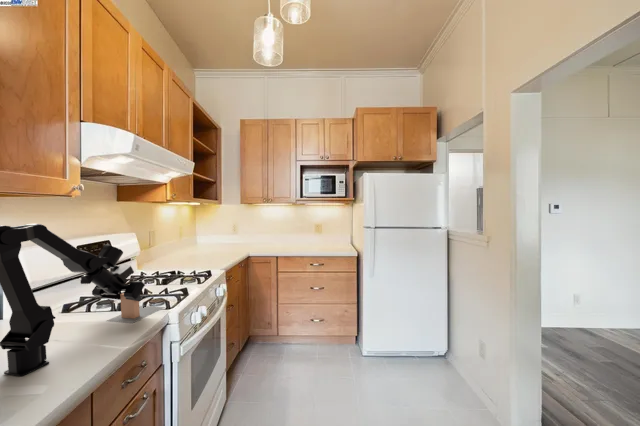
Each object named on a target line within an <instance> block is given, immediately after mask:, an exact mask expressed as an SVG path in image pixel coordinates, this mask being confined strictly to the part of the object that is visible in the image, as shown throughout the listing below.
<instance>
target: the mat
mask: <svg viewBox="0 0 640 426" xmlns="http://www.w3.org/2000/svg"><path fill="white" fill-rule="evenodd" d="M142 306H143V305H139V311H140V316H139V317H137V318H122V317H121V314H119V315H117V316H115V317H112V318H110V319H107V320H106V322H112V323H125V324H135V323H136V322H139V321H140V320H143V319H144V318H146V317H149V316H151V315H153V314H155V313H156V312H159V311H161V310H163V309H165V308H166V307H164V306H152V305H150V306H149V305H145V306H146V307H144V308H143V307H142Z"/></svg>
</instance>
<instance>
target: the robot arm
mask: <svg viewBox="0 0 640 426" xmlns="http://www.w3.org/2000/svg"><path fill="white" fill-rule="evenodd" d="M28 241H30V242H32V243H33V244H35V245H36V246H39V247H40V248H42V249H43V250H45V251H47V252H48V253H50V254H52V255H53V256H55V257H57V258H59V259H60V260H61V261H62V263H63V266H64V267H65V268H67V270H69V271H70V272H72V273H80V274H81V273H84V275H81V276H80V284H81V285H90V284H91V283H92V284H94V285H95V287H94V288H93V289H92V290H91V295H92V296H94V297H95V298H103V299H110V300H111V299H112V300H117V301H121V299H120V294H122V293H124V297H125V298H126V299H128V300H134V301H139V302H141V300H142V298H143V297H142V296H141V293H142V291H143V289H144V287H145V283H144V282H143V281H141V280H132V281H130V283H129V284H127V282H128V278H129V277H130V276H132V275H133V274H135V271H134V269H133V267H132V265H131V264H122V265H117V263H118V262H119V260H120V259H121V258H122V255H123V254H124V251H123V250H122V249H121V248H118V247H116V246H112V245H111V244H105V245H104V246H102V249H101V250H100V252H99V253H98V255H96V254H94V253H91V252H89V251H86V250H82V249H80V248H79V249H78V248H77V247H75V246H74V245H72V244H70V243H69V242H67V241H66V240H64V239H63V238H62V237H60V236H59V235H57V234H55V232H52V231H51V230H50V229H48V228H47V226H46V225H44V224H42V223H27V224H23V225H16V226H11V225H0V287H1V289H2V292H3V294H4V295H5V299H6V300H7V303H8V305H9V307H10V310H11V315H10V317H9V321H8V322H9V328H10V329H9V331H8V332H7V333H5V334H6V335H5V336H3V338H2V339H1V341H0V347H1V349H2V350H6V356H7V357H6V358H7V370H5V371H3V375H8V376H14V377H15V376H16V377H23V376H25V375H27V374H30V373H31V372H34V371H36V370H38V369H40V368H42V367H44V366H47V365H48V364H50V361H49V360H47V346H46V344H48V343H49V342H50V337H51V334H52V330H53V327H55V321H54V320H55V319H56V316H55V315H54V314H53V310H52V307H51V306H50V305H39V303H38V302H37V299H36V296H35V294H34V292H33V289H32V288H31V285H30V283H29V280H28V278H27V274H26V272H25V270H24V268H23V265H22V263H21V260H20V256H19V254H20V251H21V248H22V243H24V242H28Z"/></svg>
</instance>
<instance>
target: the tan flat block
mask: <svg viewBox="0 0 640 426" xmlns="http://www.w3.org/2000/svg"><path fill="white" fill-rule="evenodd" d="M121 293H122V294H120V299H121V300H120V310H121V313H120V315H121V317H122V318H137V317H139V316H140V311H139V307H140V301H134V300H128V299H126V298H125V297H124V292H121Z"/></svg>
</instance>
